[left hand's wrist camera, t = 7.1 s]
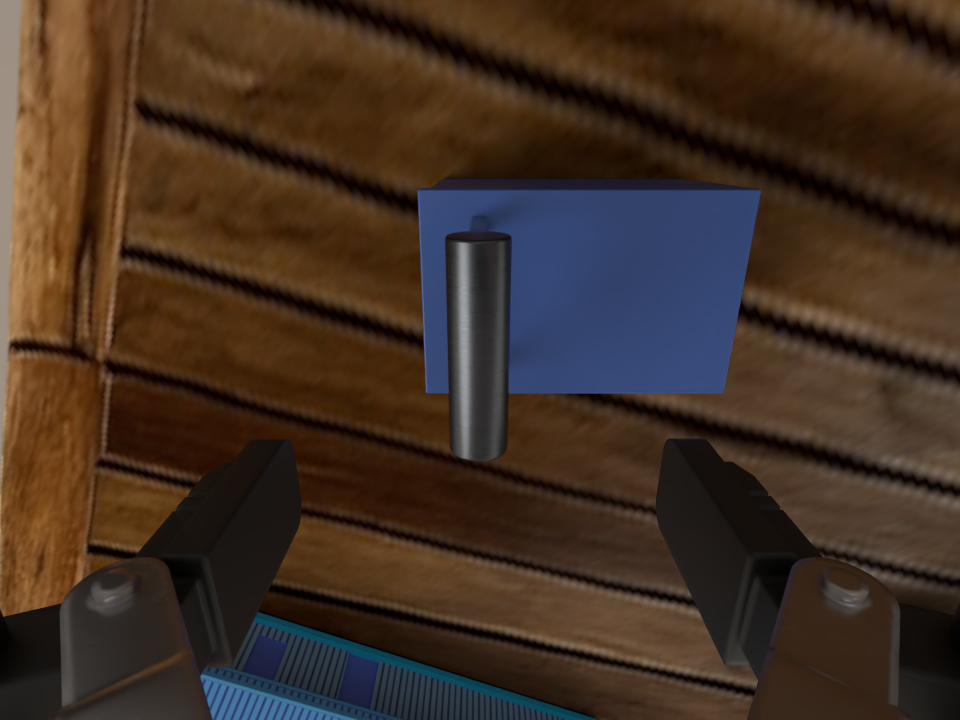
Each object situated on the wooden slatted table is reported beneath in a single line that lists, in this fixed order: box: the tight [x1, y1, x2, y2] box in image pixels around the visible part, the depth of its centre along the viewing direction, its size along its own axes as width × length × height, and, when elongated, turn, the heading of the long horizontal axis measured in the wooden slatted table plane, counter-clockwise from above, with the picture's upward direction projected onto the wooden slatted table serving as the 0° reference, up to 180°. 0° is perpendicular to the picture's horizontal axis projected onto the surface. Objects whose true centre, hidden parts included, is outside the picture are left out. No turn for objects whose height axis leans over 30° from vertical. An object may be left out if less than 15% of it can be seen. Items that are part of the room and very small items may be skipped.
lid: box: [418, 188, 761, 462], centre depth 22 cm, size 15×10×9 cm, turn 90°
